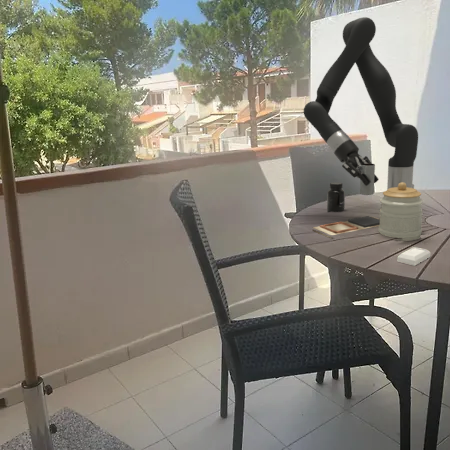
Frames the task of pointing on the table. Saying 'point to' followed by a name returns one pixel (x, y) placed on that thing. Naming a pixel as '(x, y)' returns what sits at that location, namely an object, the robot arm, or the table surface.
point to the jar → (401, 213)
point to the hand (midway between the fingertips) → (372, 182)
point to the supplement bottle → (335, 198)
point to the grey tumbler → (369, 172)
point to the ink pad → (365, 221)
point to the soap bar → (413, 256)
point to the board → (339, 228)
